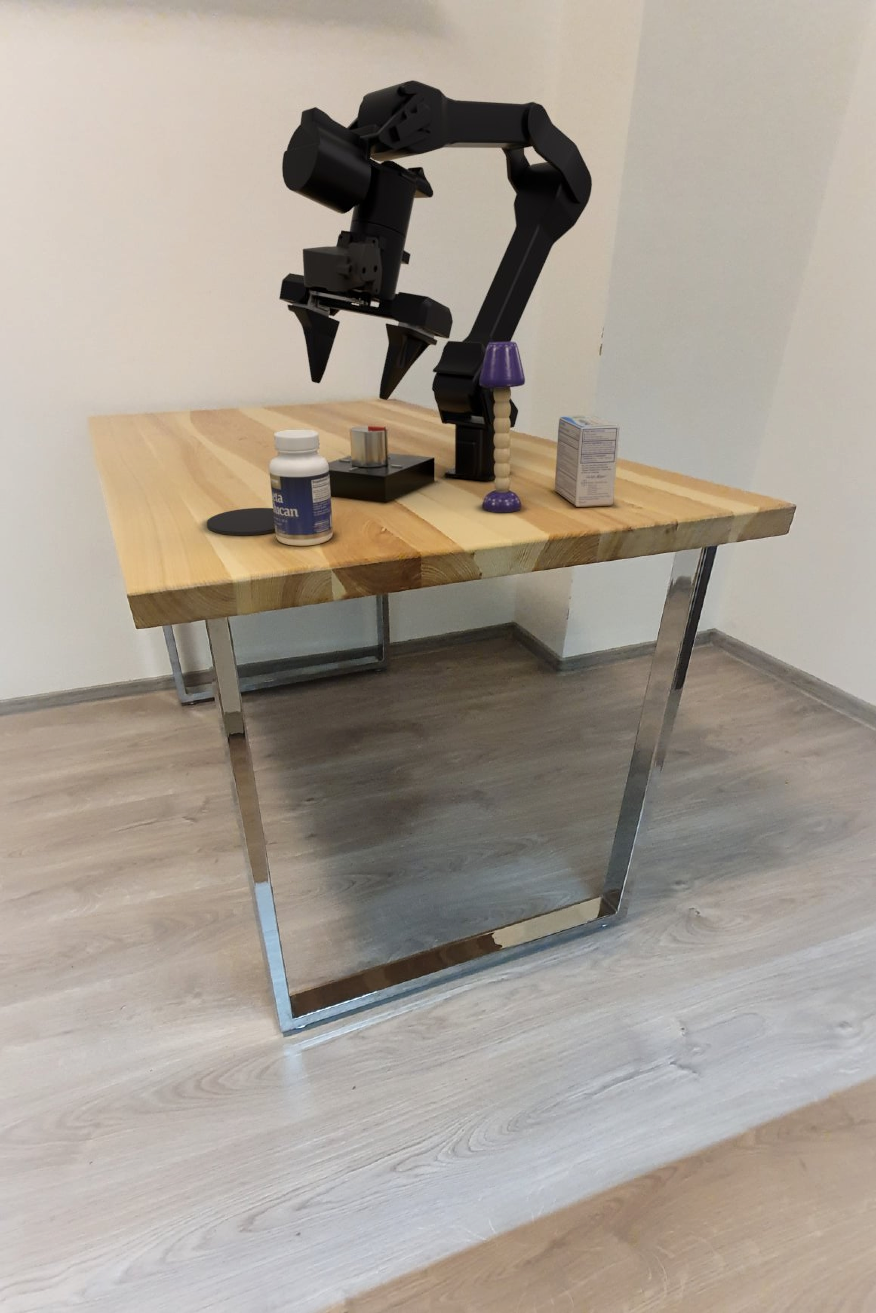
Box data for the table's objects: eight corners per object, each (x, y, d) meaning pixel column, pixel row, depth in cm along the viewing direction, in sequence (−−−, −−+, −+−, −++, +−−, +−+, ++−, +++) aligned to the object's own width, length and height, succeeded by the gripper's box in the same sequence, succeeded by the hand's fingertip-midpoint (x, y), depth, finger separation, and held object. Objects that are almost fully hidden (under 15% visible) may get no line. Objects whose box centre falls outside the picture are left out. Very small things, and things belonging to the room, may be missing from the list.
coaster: (247, 507, 80) (247, 504, 79) (315, 517, 76) (314, 514, 76) (187, 528, 72) (187, 524, 72) (258, 540, 69) (258, 536, 69)
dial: (344, 465, 85) (342, 427, 83) (364, 458, 89) (362, 422, 87) (376, 468, 83) (375, 430, 81) (395, 462, 87) (394, 424, 85)
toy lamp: (488, 515, 77) (493, 343, 69) (469, 505, 81) (472, 341, 73) (528, 510, 78) (537, 342, 71) (507, 500, 82) (514, 340, 75)
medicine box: (613, 506, 80) (622, 424, 76) (574, 508, 79) (581, 425, 75) (589, 490, 87) (595, 414, 83) (553, 491, 86) (558, 415, 82)
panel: (367, 474, 95) (365, 449, 94) (434, 481, 91) (434, 456, 89) (312, 493, 85) (310, 466, 84) (385, 503, 81) (384, 474, 80)
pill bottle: (264, 542, 68) (252, 435, 64) (299, 527, 73) (290, 426, 68) (310, 550, 66) (301, 440, 62) (344, 535, 70) (338, 430, 66)
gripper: (254, 193, 71) (231, 361, 75) (414, 210, 63) (376, 396, 68) (325, 232, 80) (300, 379, 85) (471, 252, 72) (435, 412, 77)
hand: (348, 390), depth 78 cm, fingers open, 9 cm apart
